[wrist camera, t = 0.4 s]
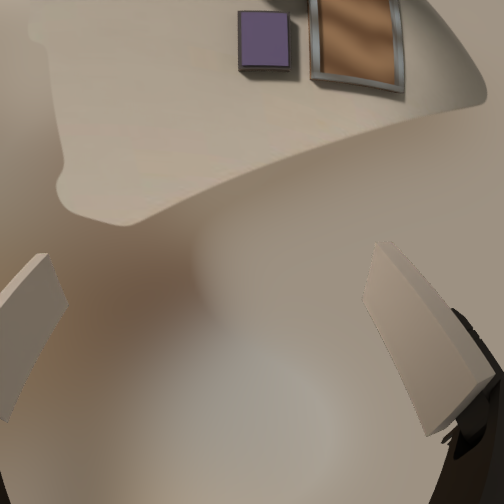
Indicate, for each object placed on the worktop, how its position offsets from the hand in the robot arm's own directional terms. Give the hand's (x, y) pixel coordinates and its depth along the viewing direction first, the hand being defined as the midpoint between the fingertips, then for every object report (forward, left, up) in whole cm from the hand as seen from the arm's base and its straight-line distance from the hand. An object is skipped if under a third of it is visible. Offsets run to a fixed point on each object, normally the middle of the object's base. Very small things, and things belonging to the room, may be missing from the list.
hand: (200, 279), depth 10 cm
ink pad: (-15, +5, -27) cm, 31 cm away
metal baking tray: (-19, +17, -27) cm, 37 cm away
